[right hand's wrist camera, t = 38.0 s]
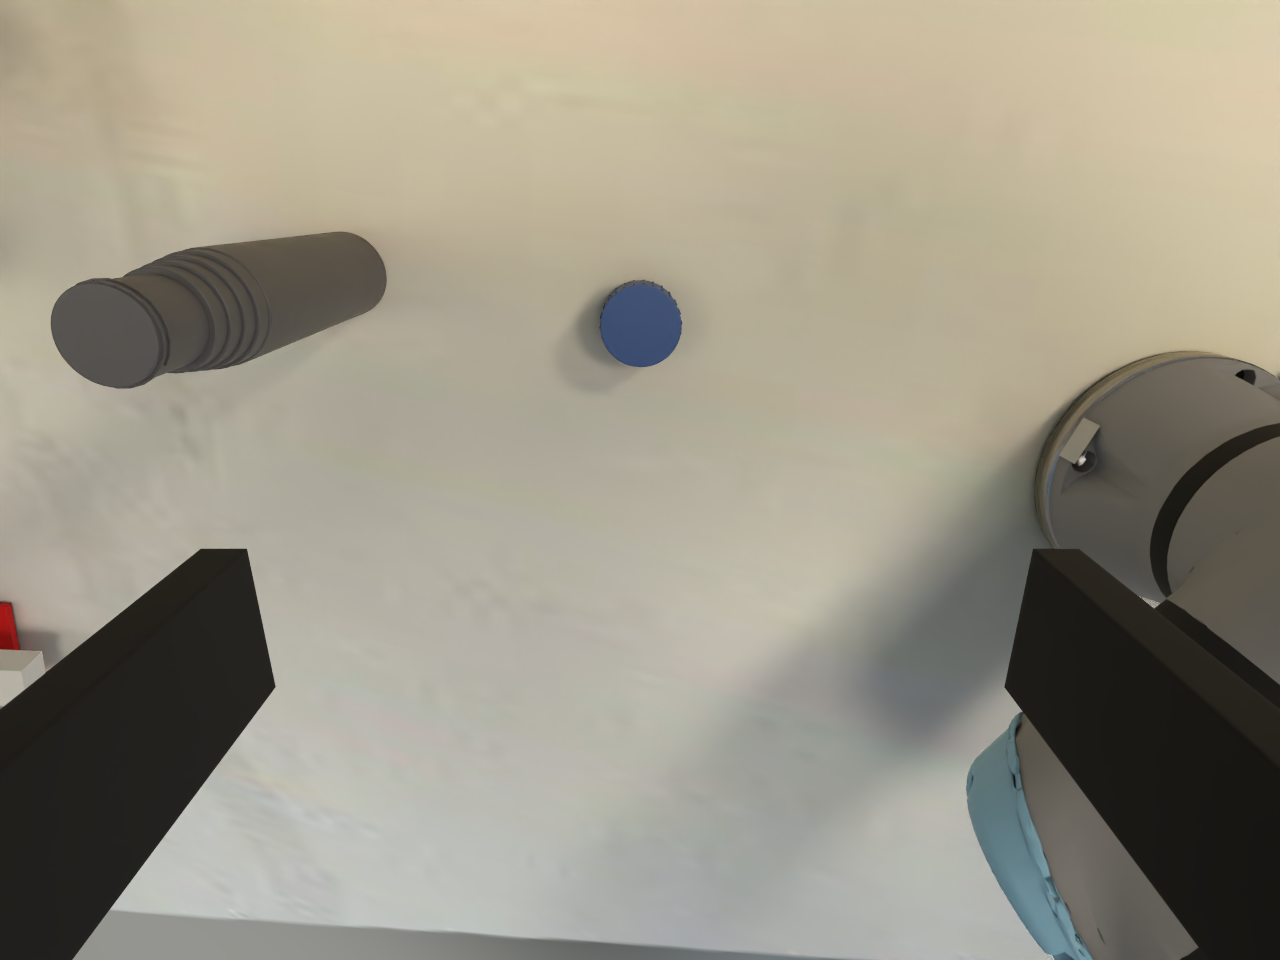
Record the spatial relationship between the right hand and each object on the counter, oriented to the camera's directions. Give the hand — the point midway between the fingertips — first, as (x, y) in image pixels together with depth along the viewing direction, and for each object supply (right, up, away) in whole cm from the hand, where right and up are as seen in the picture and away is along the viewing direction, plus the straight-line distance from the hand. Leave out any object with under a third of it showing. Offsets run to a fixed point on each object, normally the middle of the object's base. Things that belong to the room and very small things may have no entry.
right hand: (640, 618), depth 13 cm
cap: (0, +11, +29) cm, 31 cm away
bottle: (-17, +14, +30) cm, 37 cm away
